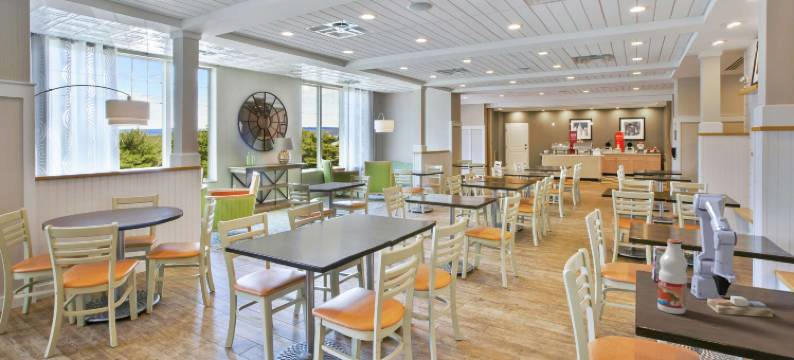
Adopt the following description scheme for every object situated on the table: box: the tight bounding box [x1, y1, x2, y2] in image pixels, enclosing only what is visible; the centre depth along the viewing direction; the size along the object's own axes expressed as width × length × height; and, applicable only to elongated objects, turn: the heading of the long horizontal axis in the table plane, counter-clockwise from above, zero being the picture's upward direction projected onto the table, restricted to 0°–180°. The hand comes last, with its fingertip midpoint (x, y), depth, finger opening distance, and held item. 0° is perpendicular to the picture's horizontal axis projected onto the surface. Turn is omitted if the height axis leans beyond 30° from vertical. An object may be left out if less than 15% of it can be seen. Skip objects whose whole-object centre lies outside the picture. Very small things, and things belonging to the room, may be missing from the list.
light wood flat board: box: [706, 299, 774, 318], centre depth 170 cm, size 18×9×2 cm, turn 77°
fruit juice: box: [657, 238, 688, 315], centre depth 170 cm, size 9×9×28 cm
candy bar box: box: [651, 245, 684, 283], centre depth 204 cm, size 11×5×16 cm, turn 71°
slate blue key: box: [748, 300, 767, 308], centre depth 168 cm, size 4×4×2 cm
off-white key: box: [729, 295, 749, 306], centre depth 169 cm, size 4×4×2 cm
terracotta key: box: [713, 298, 730, 306], centre depth 171 cm, size 4×4×2 cm
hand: (721, 294), depth 171 cm, fingers closed
